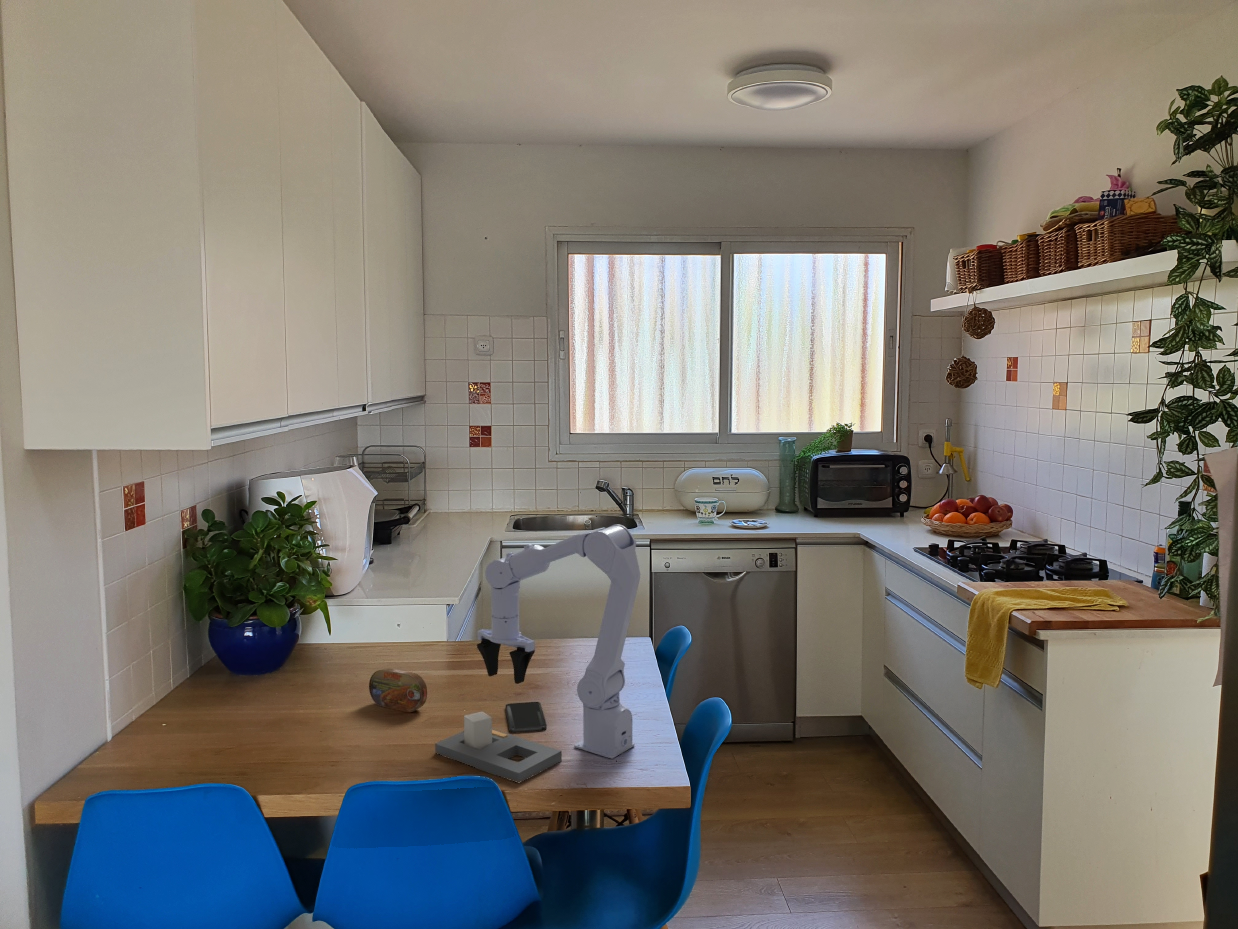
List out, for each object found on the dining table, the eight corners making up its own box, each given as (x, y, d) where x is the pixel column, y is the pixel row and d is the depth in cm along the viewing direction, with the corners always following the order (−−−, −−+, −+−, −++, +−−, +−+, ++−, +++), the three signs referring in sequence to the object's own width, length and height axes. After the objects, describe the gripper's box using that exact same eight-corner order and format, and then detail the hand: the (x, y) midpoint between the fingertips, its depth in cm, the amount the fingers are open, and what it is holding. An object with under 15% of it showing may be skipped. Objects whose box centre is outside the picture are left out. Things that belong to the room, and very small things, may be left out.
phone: (509, 729, 183) (505, 703, 198) (509, 735, 183) (505, 708, 198) (547, 726, 184) (540, 701, 199) (547, 732, 184) (540, 706, 199)
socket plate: (561, 760, 170) (561, 749, 169) (519, 783, 160) (518, 772, 160) (479, 733, 182) (479, 723, 182) (435, 753, 173) (435, 742, 173)
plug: (492, 752, 174) (491, 717, 173) (473, 757, 171) (473, 722, 171) (482, 745, 177) (482, 711, 176) (464, 750, 175) (464, 715, 174)
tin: (368, 704, 199) (367, 667, 198) (378, 699, 202) (377, 663, 201) (420, 716, 192) (419, 678, 191) (430, 711, 195) (429, 674, 194)
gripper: (544, 616, 183) (544, 680, 184) (493, 605, 191) (494, 667, 193) (521, 624, 177) (521, 690, 178) (469, 612, 186) (470, 675, 187)
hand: (506, 678), depth 185 cm, fingers open, 7 cm apart
